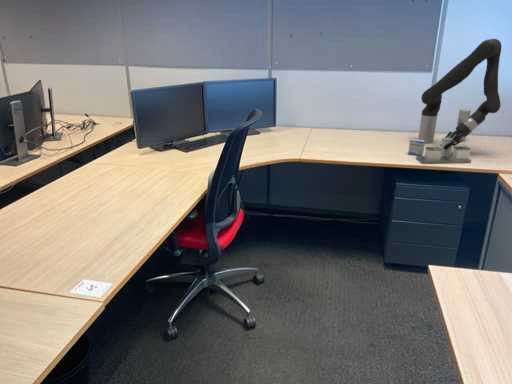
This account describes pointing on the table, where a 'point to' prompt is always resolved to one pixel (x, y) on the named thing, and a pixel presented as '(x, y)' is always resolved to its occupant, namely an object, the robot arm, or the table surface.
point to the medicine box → (416, 147)
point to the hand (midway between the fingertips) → (442, 147)
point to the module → (443, 143)
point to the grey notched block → (435, 156)
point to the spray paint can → (463, 117)
